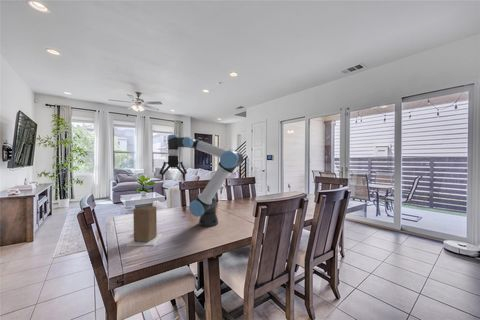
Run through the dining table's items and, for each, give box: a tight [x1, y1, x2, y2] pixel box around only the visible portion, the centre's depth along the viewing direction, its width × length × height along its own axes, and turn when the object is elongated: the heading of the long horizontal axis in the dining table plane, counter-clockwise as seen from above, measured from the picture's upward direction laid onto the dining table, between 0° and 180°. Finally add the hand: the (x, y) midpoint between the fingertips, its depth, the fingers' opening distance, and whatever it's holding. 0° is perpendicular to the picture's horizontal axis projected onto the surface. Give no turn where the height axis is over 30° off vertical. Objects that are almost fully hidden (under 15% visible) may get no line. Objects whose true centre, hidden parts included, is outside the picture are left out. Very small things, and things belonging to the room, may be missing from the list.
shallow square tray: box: [125, 233, 163, 247], centre depth 129 cm, size 16×16×1 cm
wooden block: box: [133, 205, 158, 242], centre depth 128 cm, size 10×10×20 cm
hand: (173, 183), depth 155 cm, fingers open, 13 cm apart
